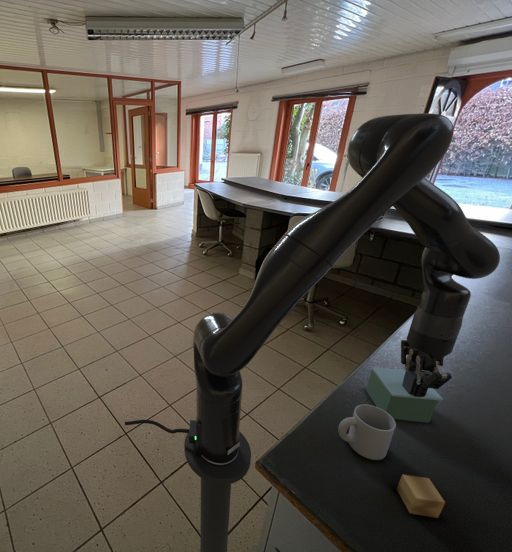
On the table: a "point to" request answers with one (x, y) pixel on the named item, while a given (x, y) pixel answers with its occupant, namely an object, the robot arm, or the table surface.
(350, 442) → the cup
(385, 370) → the teal box lid
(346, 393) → the table surface
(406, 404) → the display box
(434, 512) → the block
